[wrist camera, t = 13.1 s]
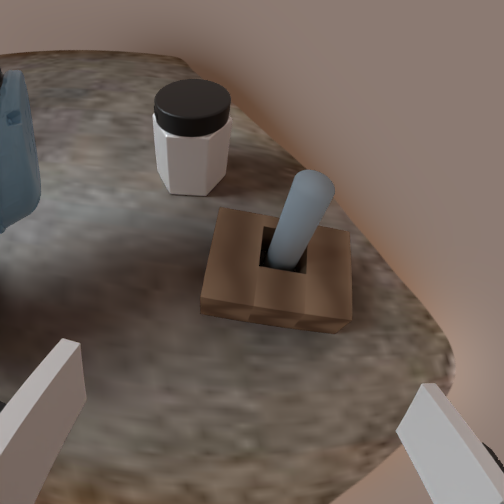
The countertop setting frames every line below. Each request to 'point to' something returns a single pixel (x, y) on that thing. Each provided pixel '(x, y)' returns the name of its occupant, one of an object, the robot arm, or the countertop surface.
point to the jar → (192, 135)
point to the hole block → (277, 277)
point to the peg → (299, 219)
